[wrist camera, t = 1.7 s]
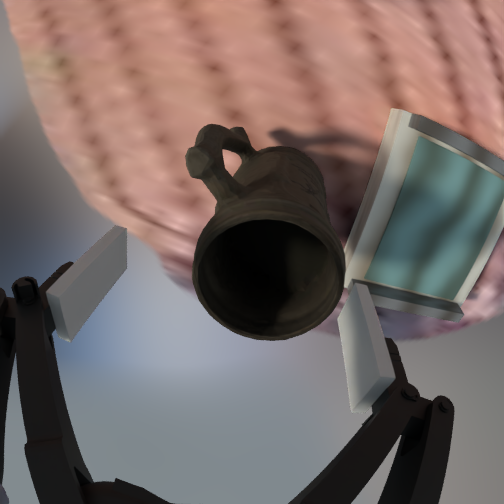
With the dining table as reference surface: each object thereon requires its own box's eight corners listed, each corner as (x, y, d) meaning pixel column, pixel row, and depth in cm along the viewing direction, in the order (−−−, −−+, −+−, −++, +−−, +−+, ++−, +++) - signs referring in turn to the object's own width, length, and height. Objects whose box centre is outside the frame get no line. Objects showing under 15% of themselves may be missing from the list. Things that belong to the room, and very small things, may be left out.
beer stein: (345, 203, 35) (384, 297, 17) (276, 250, 39) (252, 366, 21) (263, 101, 31) (215, 84, 13) (196, 159, 35) (99, 210, 18)
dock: (506, 168, 29) (534, 182, 23) (447, 296, 39) (463, 323, 34) (391, 108, 28) (412, 111, 23) (335, 269, 39) (342, 298, 34)
